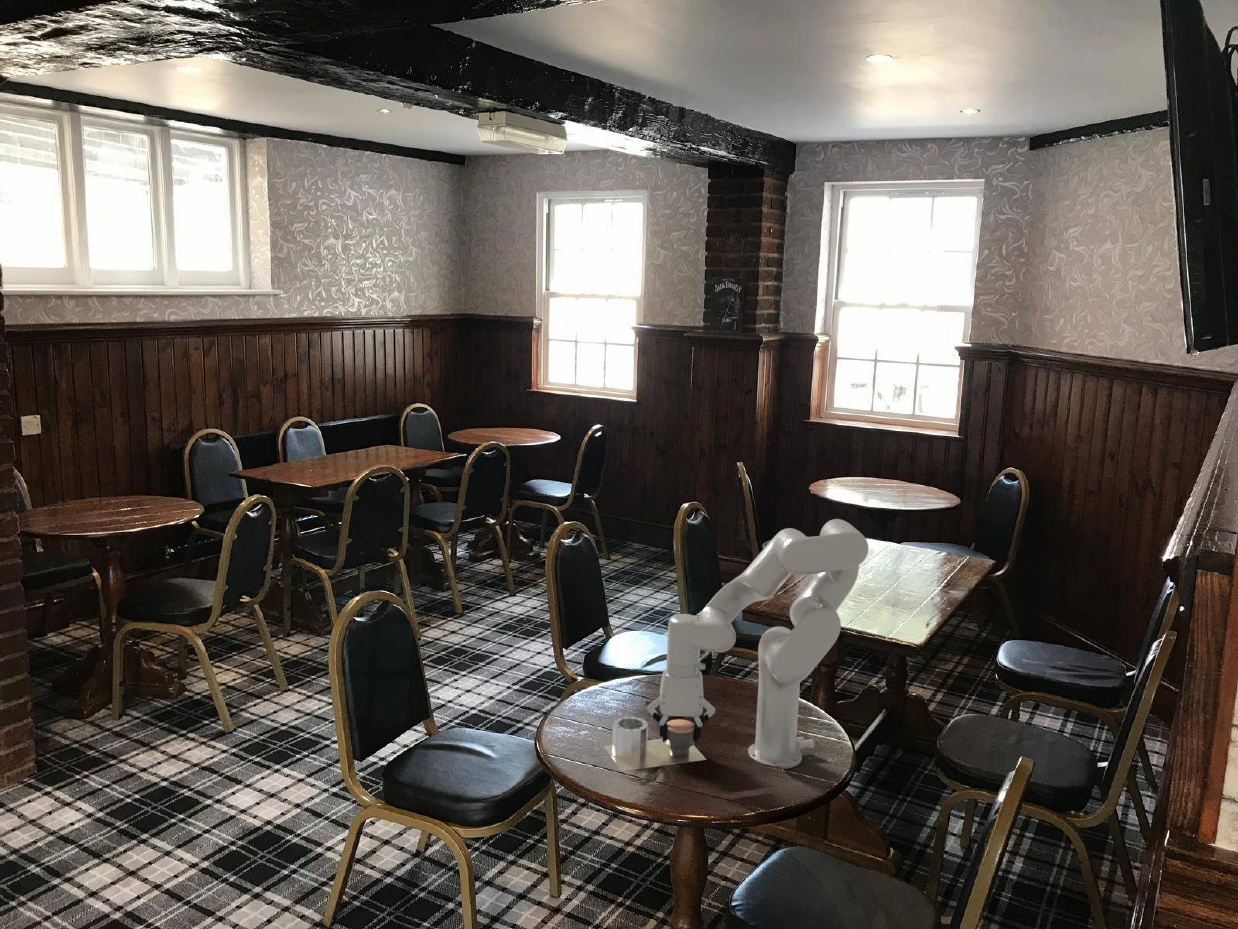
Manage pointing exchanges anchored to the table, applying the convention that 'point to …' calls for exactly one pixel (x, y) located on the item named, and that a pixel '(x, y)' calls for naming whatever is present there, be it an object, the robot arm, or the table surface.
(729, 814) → the table surface
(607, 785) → the table surface
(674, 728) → the peach ball on collar
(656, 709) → the microphone
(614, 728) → the cylinder on base plate
